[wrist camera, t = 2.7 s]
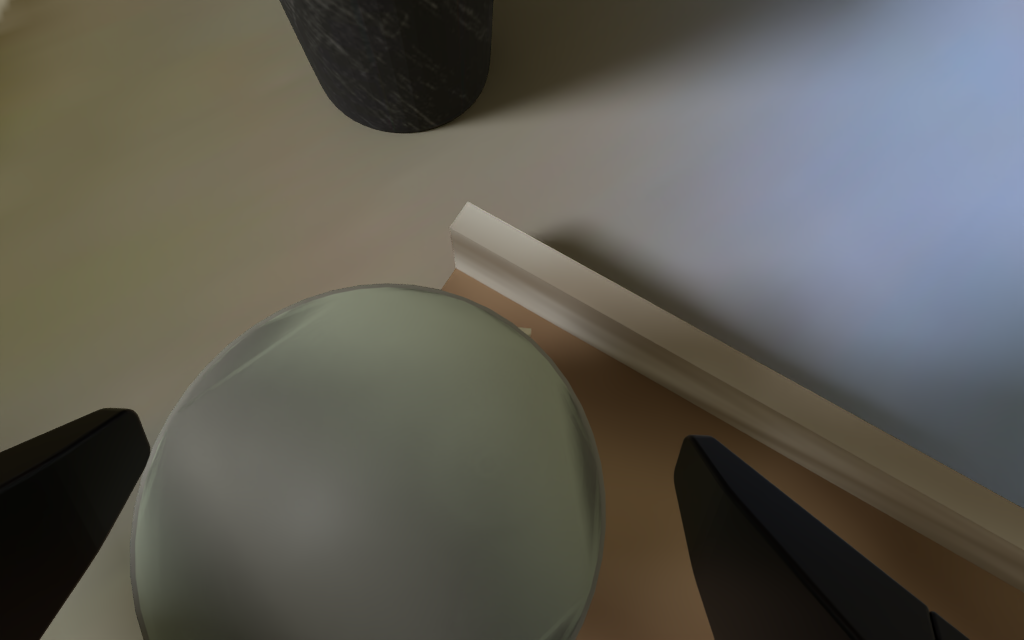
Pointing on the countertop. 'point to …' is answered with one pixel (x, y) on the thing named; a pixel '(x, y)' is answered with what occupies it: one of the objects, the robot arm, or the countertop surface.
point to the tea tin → (372, 482)
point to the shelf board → (747, 433)
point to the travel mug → (396, 57)
